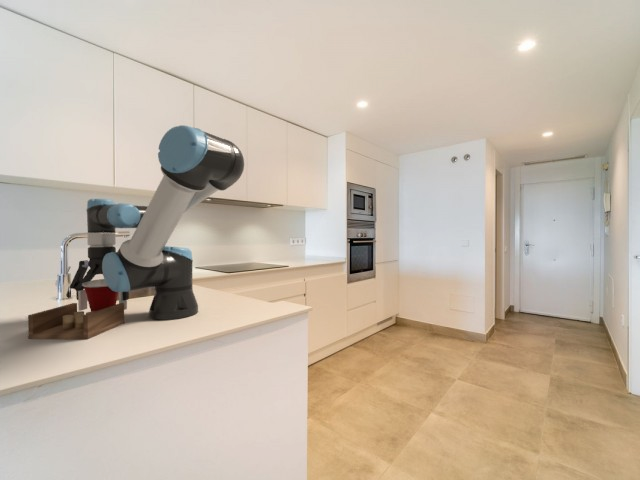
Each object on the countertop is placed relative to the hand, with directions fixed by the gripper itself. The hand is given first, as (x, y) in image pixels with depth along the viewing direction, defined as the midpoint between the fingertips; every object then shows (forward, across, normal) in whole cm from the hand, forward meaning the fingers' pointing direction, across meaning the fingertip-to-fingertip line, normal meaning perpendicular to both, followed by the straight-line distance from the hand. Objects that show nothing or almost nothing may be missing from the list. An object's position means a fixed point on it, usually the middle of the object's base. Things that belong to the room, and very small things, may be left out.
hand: (102, 309), depth 100 cm
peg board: (+2, -4, +14) cm, 15 cm away
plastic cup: (+2, 0, 0) cm, 3 cm away
